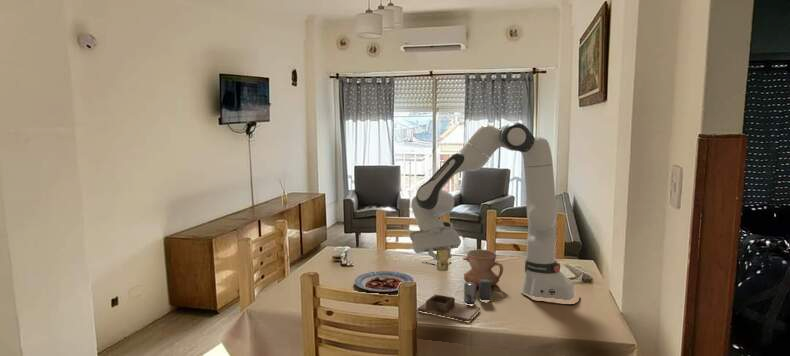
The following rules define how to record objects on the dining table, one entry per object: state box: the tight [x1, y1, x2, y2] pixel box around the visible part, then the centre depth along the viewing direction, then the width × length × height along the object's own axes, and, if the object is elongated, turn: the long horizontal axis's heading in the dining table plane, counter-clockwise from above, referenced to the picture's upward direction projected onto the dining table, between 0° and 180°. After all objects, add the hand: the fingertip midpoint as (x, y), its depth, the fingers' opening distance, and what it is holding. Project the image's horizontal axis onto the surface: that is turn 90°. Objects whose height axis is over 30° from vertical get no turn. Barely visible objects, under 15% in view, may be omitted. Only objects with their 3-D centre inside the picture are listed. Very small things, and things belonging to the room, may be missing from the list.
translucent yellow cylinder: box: [436, 248, 449, 272], centre depth 192 cm, size 4×4×8 cm
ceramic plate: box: [354, 270, 415, 293], centre depth 211 cm, size 26×26×3 cm
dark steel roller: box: [463, 281, 477, 304], centre depth 188 cm, size 4×4×8 cm
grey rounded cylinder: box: [478, 279, 492, 300], centre depth 191 cm, size 4×4×8 cm
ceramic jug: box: [462, 249, 504, 288], centre depth 209 cm, size 18×14×14 cm
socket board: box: [417, 293, 481, 322], centre depth 181 cm, size 20×12×4 cm, turn 61°
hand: (443, 258), depth 192 cm, fingers closed on translucent yellow cylinder, 4 cm apart
